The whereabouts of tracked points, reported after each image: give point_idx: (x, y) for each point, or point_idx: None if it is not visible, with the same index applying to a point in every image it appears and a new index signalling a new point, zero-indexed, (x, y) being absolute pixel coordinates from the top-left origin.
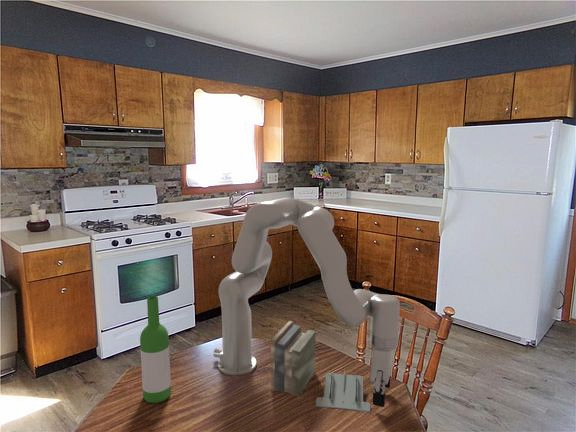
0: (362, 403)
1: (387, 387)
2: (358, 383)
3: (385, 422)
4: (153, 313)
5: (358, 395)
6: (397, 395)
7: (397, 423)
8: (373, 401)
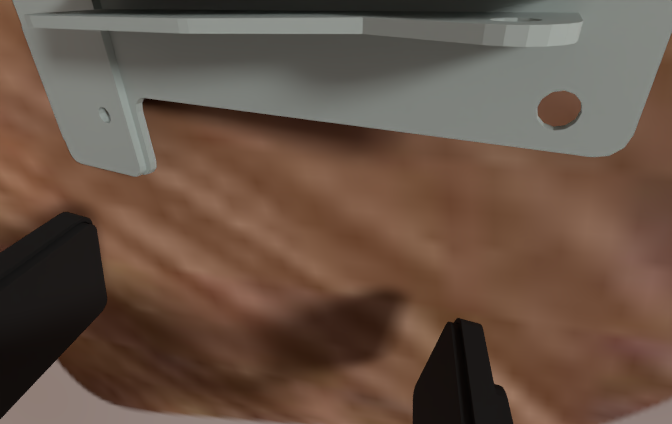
0: (102, 89)
1: (417, 384)
2: (411, 46)
3: None
4: None
5: (189, 38)
6: (396, 388)
7: None
8: (39, 236)
